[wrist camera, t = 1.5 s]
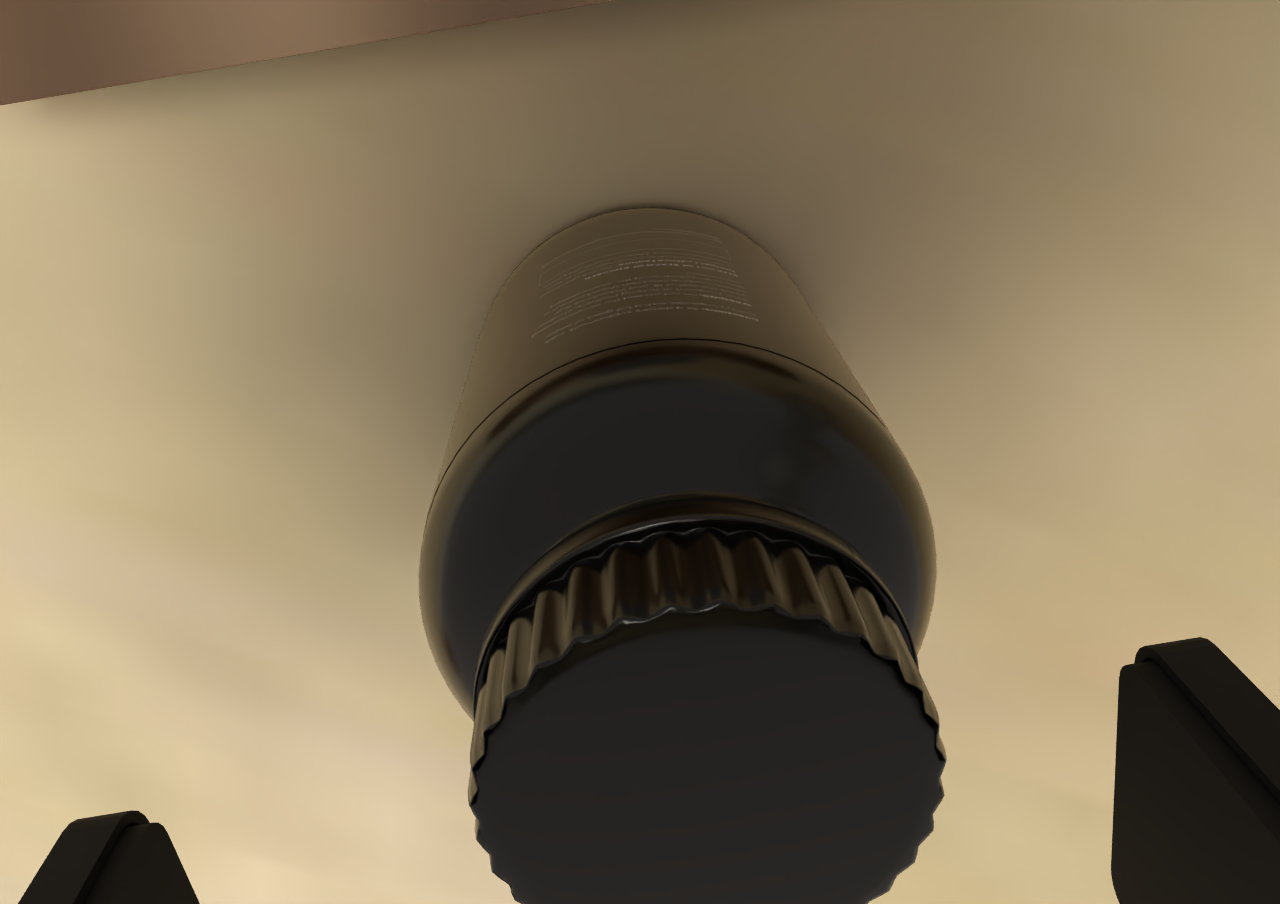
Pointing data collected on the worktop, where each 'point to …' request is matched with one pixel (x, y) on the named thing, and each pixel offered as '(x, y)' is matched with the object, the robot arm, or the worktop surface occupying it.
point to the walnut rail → (205, 35)
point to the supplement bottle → (680, 584)
